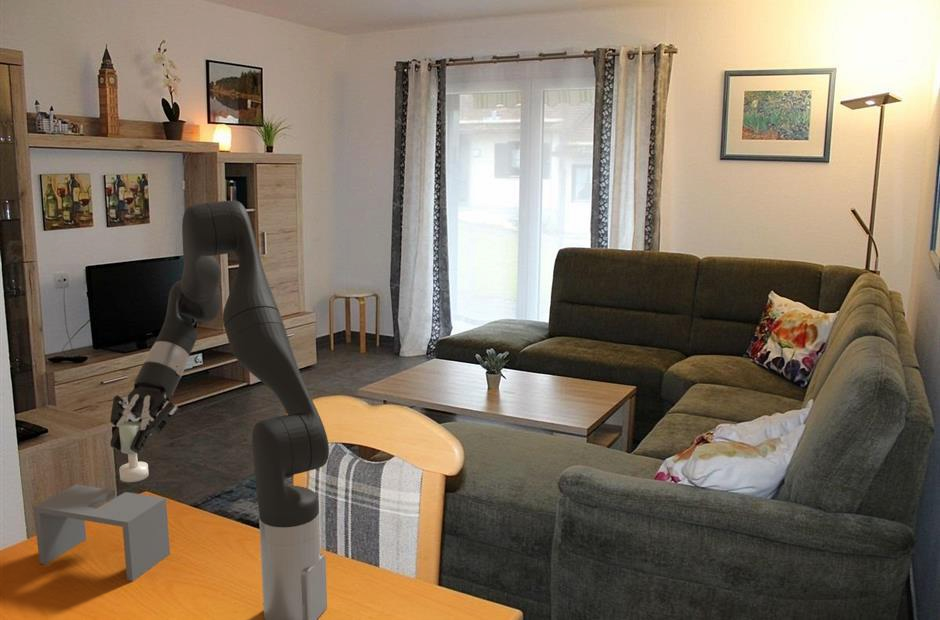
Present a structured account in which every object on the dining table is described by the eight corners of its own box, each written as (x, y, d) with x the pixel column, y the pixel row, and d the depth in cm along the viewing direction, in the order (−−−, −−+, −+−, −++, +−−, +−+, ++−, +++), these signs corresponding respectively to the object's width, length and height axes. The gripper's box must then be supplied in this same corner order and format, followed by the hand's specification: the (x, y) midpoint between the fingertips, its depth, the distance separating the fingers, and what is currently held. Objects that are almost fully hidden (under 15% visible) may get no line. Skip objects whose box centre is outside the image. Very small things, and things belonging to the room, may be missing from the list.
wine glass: (154, 472, 153) (150, 421, 151) (136, 483, 148) (132, 430, 146) (132, 469, 154) (127, 418, 152) (114, 480, 150) (109, 427, 147)
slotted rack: (170, 553, 147) (165, 498, 145) (132, 581, 138) (127, 522, 135) (81, 538, 153) (76, 484, 150) (39, 563, 143) (33, 506, 141)
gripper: (121, 357, 156) (81, 437, 147) (184, 363, 152) (146, 445, 143) (142, 375, 162) (104, 453, 153) (202, 382, 158) (167, 462, 149)
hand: (124, 449), depth 148 cm, fingers closed on wine glass, 3 cm apart
